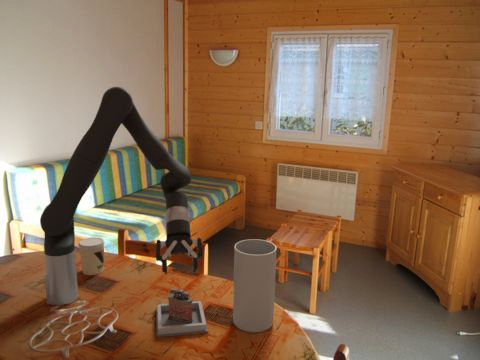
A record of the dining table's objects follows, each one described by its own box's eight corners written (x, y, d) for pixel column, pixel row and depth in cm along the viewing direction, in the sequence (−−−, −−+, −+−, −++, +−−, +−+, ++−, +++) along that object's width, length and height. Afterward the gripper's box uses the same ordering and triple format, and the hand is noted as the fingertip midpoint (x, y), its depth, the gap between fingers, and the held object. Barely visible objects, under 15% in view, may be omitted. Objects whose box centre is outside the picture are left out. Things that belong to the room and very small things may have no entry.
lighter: (194, 319, 136) (194, 289, 134) (189, 324, 133) (189, 294, 130) (171, 314, 138) (171, 285, 136) (166, 319, 135) (165, 290, 133)
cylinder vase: (233, 311, 142) (235, 238, 136) (272, 312, 142) (275, 239, 136) (231, 333, 130) (233, 254, 124) (274, 334, 130) (277, 255, 124)
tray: (156, 337, 127) (156, 329, 126) (156, 310, 141) (155, 303, 141) (208, 332, 130) (208, 325, 129) (202, 307, 144) (202, 300, 144)
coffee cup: (101, 276, 164) (99, 246, 161) (76, 275, 164) (74, 245, 161) (109, 266, 173) (107, 237, 170) (85, 265, 173) (83, 236, 171)
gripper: (155, 219, 135) (156, 269, 127) (201, 217, 138) (205, 266, 129) (155, 229, 141) (156, 278, 133) (199, 227, 144) (203, 275, 136)
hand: (180, 272), depth 131 cm, fingers open, 8 cm apart
